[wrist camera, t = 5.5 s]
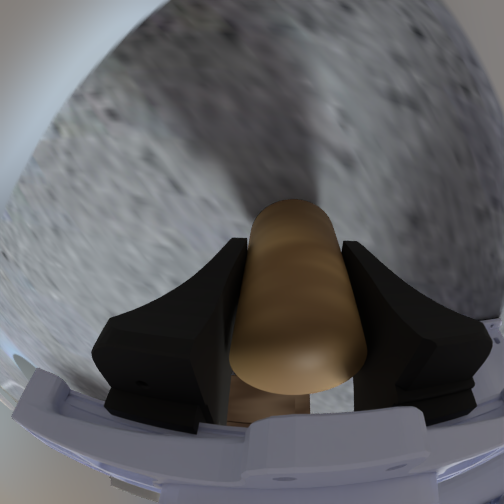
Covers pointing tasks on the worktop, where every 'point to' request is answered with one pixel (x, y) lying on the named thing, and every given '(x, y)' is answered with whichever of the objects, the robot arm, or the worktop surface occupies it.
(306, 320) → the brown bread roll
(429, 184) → the worktop surface
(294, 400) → the toolbox
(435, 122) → the worktop surface
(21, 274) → the worktop surface
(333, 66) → the worktop surface
